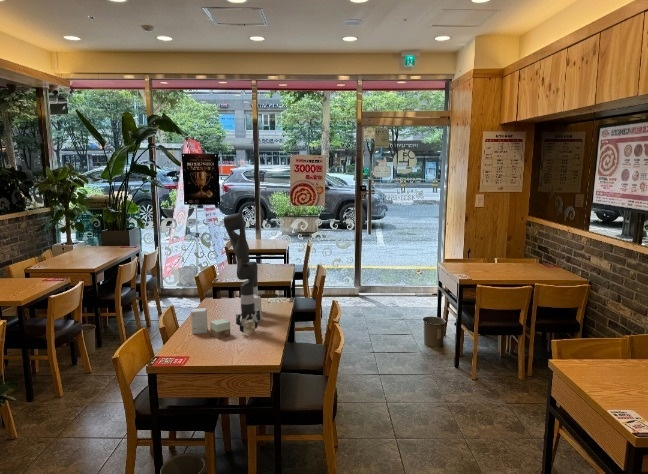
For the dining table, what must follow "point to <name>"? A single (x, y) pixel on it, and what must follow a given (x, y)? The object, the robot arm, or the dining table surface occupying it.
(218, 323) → the sage slab
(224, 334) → the walnut slab
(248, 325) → the maple block
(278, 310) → the dining table surface
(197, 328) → the small box
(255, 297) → the supplement box
